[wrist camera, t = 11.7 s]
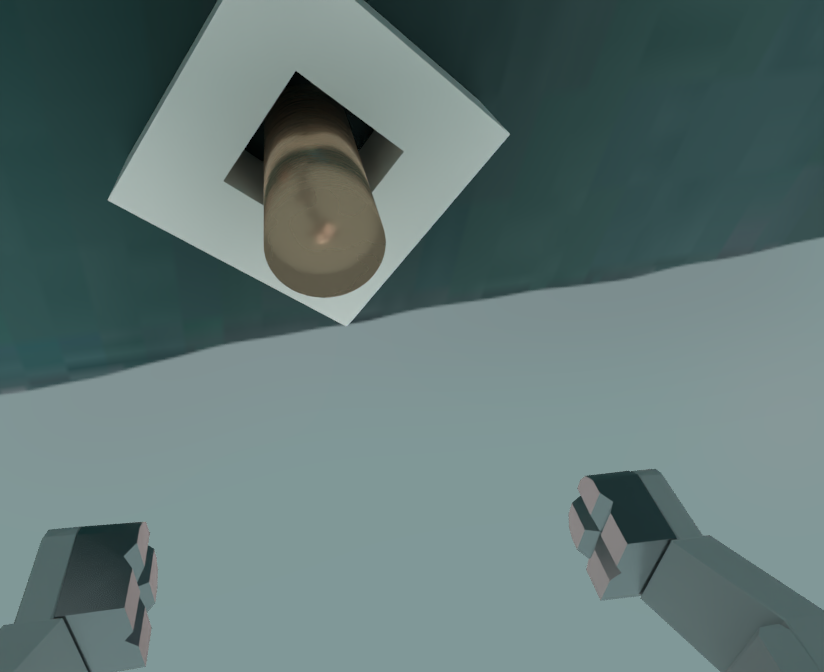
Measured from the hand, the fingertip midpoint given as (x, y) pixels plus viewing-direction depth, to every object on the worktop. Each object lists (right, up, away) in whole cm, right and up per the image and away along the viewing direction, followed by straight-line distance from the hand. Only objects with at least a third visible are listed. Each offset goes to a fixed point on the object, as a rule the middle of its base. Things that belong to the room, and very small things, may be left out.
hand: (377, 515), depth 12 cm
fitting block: (-4, +13, +18) cm, 23 cm away
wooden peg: (-4, +13, +18) cm, 23 cm away
